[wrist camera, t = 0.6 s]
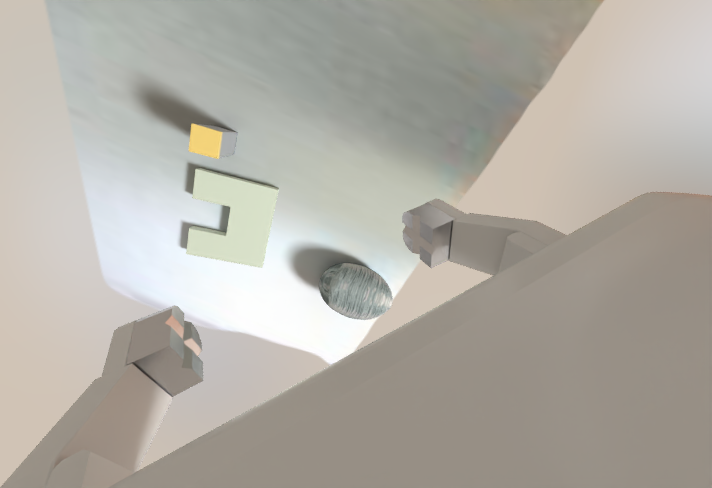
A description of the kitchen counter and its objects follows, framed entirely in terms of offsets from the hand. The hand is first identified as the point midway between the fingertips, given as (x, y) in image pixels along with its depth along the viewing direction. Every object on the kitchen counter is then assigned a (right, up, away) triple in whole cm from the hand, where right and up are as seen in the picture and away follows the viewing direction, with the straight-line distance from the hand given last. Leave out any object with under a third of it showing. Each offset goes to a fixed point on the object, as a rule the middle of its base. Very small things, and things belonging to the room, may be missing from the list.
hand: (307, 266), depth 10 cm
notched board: (-19, +5, +36) cm, 41 cm away
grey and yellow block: (-18, +16, +32) cm, 40 cm away
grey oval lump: (+1, -6, +44) cm, 45 cm away
